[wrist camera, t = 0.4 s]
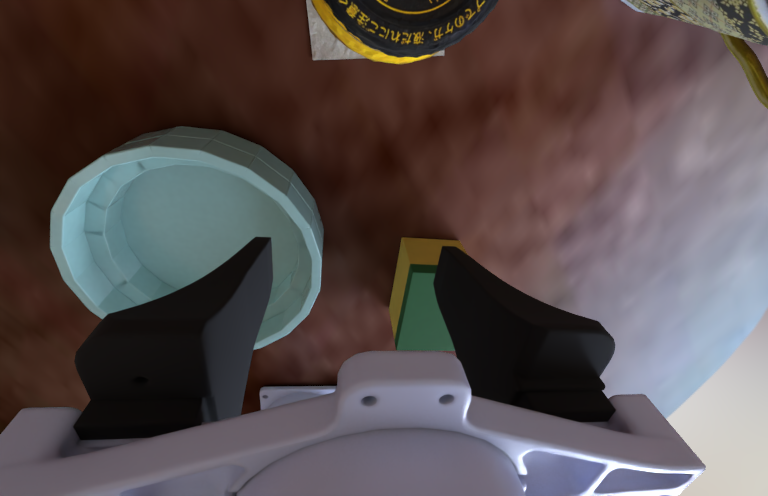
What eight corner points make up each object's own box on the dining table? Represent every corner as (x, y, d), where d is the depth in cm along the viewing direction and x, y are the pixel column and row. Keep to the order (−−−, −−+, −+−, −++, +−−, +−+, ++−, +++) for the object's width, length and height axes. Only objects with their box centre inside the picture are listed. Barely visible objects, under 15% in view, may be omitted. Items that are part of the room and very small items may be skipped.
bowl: (319, 312, 29) (317, 355, 25) (128, 308, 27) (93, 355, 23) (328, 138, 22) (326, 161, 18) (67, 111, 19) (0, 131, 16)
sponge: (440, 310, 30) (454, 350, 26) (388, 309, 30) (396, 350, 26) (459, 240, 27) (479, 275, 23) (401, 236, 26) (412, 272, 22)
